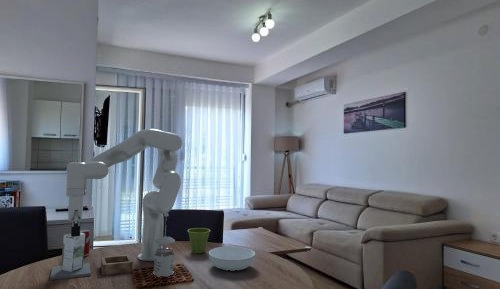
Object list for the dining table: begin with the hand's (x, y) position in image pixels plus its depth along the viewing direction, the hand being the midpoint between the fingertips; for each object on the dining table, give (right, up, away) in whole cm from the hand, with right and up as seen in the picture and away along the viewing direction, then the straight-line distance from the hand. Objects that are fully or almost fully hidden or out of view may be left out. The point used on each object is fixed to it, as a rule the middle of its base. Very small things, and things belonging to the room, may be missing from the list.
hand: (75, 233), depth 137 cm
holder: (+15, -16, +5) cm, 22 cm away
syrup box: (-1, -15, -1) cm, 15 cm away
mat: (-1, -15, -1) cm, 15 cm away
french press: (+35, -17, +2) cm, 39 cm away
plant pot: (+45, -19, +36) cm, 60 cm away
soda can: (-9, -17, +22) cm, 29 cm away
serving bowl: (+63, -19, +13) cm, 67 cm away
